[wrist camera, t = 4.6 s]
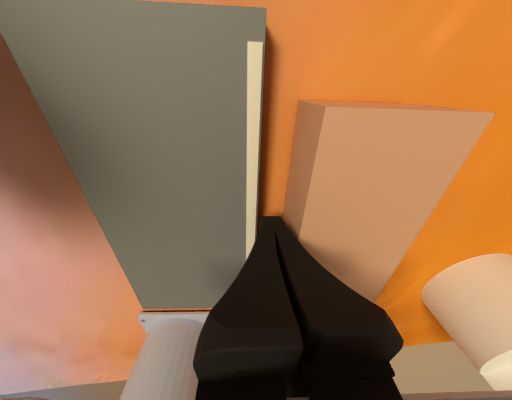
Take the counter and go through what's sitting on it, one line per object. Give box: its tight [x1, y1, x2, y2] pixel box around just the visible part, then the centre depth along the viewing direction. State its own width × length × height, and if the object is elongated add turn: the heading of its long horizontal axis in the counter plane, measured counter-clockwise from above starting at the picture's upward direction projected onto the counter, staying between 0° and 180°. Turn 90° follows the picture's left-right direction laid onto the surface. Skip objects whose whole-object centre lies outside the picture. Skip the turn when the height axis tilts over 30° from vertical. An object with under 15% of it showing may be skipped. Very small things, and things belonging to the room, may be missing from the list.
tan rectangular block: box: [283, 100, 496, 303], centre depth 12 cm, size 14×6×4 cm, turn 178°
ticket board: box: [0, 0, 267, 309], centre depth 12 cm, size 20×10×2 cm, turn 178°
